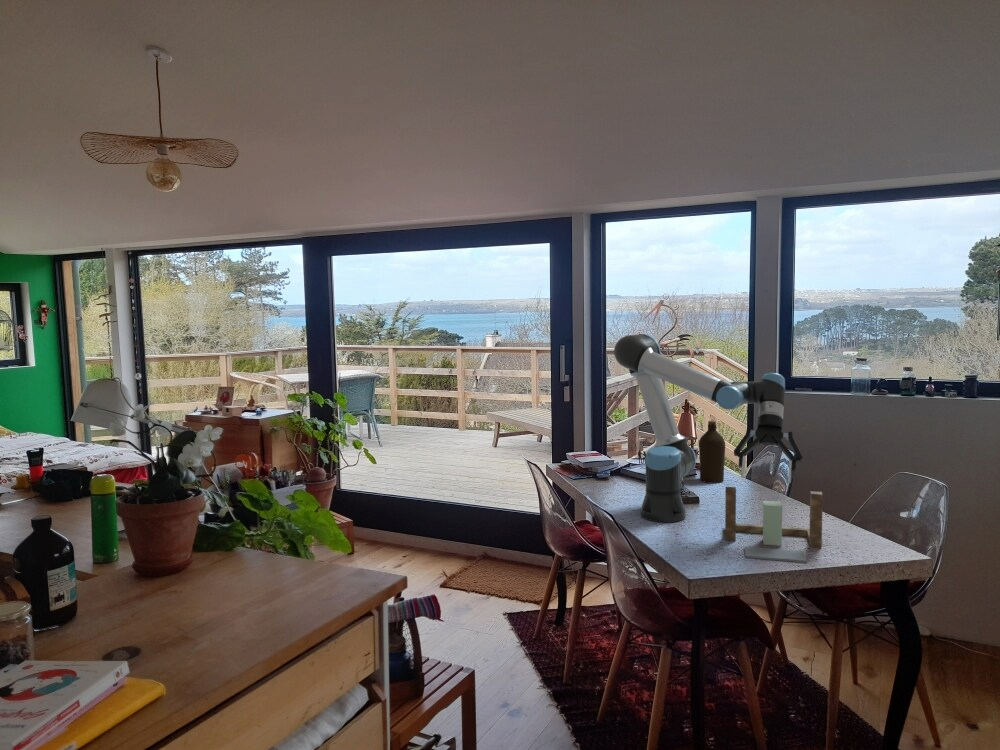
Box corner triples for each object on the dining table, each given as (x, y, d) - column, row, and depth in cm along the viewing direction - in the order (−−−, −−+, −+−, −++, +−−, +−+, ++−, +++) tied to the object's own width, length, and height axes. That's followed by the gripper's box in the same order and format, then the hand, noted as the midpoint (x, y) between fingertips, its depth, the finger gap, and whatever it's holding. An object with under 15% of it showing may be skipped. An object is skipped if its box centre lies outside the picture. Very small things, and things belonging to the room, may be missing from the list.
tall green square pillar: (763, 544, 206) (764, 505, 205) (762, 539, 211) (763, 501, 210) (781, 545, 205) (782, 506, 204) (780, 540, 209) (780, 502, 208)
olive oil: (728, 479, 288) (729, 420, 286) (719, 484, 280) (719, 424, 278) (704, 476, 295) (704, 418, 293) (694, 481, 287) (694, 422, 285)
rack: (725, 540, 211) (725, 489, 209) (725, 528, 222) (725, 480, 221) (821, 547, 202) (822, 494, 201) (816, 535, 214) (817, 484, 212)
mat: (745, 557, 195) (745, 555, 195) (744, 548, 203) (744, 546, 203) (806, 562, 190) (806, 560, 190) (803, 553, 198) (803, 551, 198)
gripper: (729, 410, 225) (723, 469, 216) (813, 415, 215) (809, 478, 206) (731, 420, 231) (724, 478, 222) (812, 426, 221) (809, 488, 212)
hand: (765, 479), depth 214 cm, fingers open, 13 cm apart
